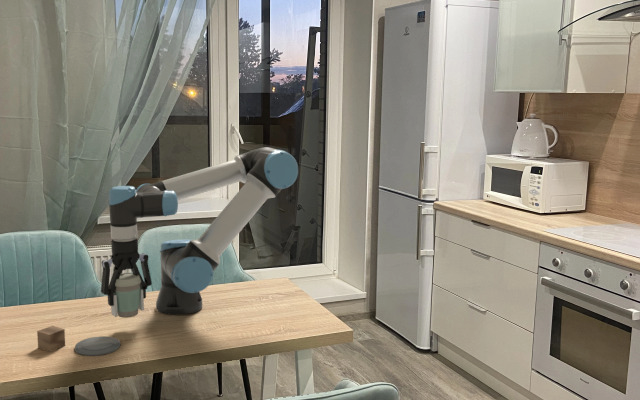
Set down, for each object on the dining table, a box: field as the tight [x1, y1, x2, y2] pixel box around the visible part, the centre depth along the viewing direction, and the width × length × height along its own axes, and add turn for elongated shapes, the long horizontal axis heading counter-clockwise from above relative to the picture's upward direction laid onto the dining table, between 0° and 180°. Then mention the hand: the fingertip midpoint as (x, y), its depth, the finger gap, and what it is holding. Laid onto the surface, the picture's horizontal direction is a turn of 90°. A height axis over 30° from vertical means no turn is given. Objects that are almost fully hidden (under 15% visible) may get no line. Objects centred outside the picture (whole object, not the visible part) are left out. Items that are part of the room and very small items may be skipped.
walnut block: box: [36, 325, 66, 353], centre depth 177 cm, size 5×5×5 cm
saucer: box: [74, 335, 121, 357], centre depth 178 cm, size 12×12×1 cm
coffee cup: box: [114, 272, 141, 319], centre depth 190 cm, size 9×8×12 cm
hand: (127, 312), depth 191 cm, fingers closed on coffee cup, 8 cm apart
